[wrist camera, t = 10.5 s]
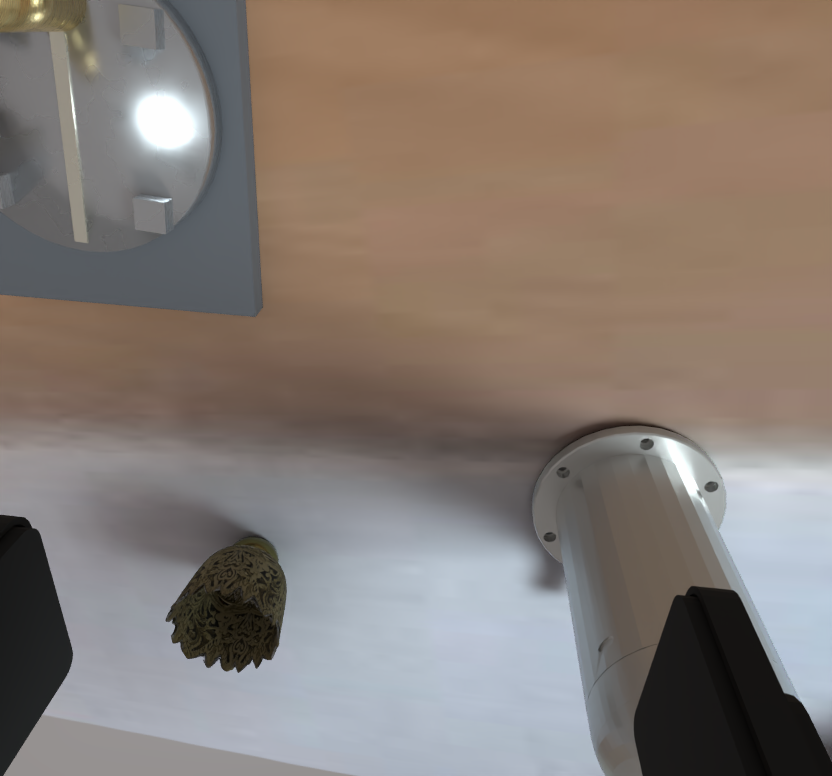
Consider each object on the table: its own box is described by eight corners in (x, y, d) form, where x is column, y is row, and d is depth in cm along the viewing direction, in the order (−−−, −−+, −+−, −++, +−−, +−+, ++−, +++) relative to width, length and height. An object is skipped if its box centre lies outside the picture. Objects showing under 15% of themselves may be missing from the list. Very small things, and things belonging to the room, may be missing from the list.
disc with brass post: (221, -32, 31) (132, -52, 23) (223, 259, 37) (156, 321, 30) (-77, -77, 31) (-268, -112, 23) (-20, 221, 38) (-152, 273, 30)
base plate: (262, 307, 41) (254, 317, 39) (9, 285, 41) (-8, 294, 40) (237, -146, 30) (225, -155, 29) (-103, -166, 31) (-132, -175, 29)
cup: (308, 590, 52) (282, 678, 45) (216, 583, 52) (176, 670, 45) (301, 515, 48) (271, 598, 41) (202, 509, 49) (156, 590, 42)
